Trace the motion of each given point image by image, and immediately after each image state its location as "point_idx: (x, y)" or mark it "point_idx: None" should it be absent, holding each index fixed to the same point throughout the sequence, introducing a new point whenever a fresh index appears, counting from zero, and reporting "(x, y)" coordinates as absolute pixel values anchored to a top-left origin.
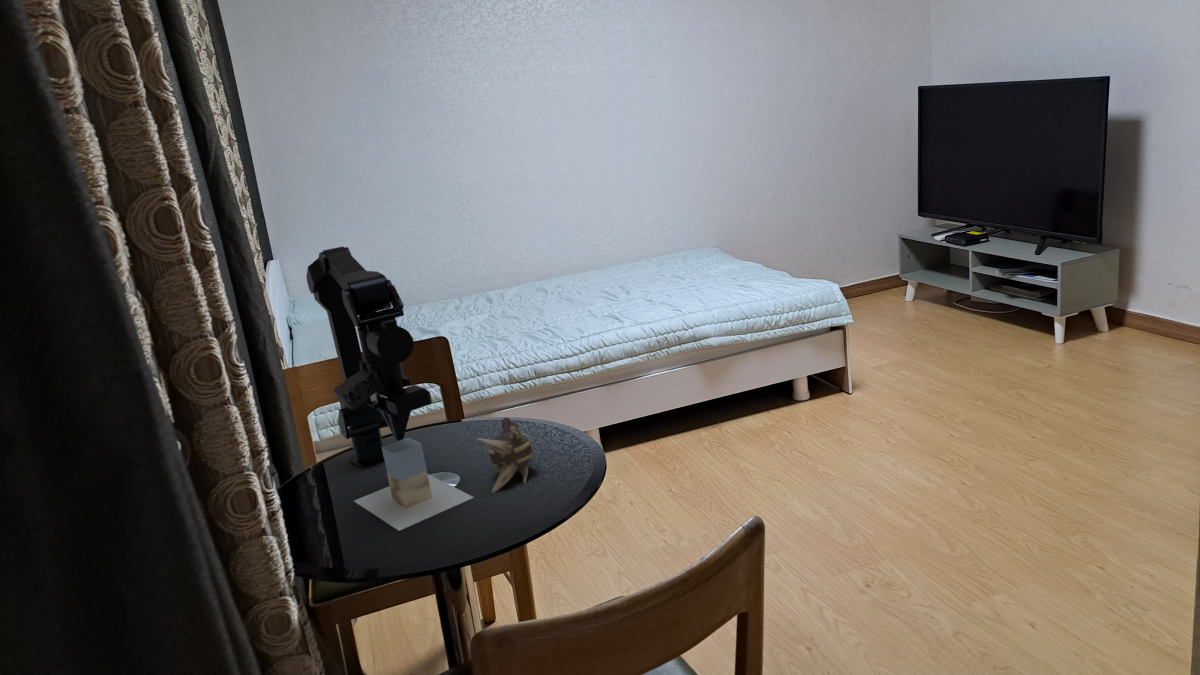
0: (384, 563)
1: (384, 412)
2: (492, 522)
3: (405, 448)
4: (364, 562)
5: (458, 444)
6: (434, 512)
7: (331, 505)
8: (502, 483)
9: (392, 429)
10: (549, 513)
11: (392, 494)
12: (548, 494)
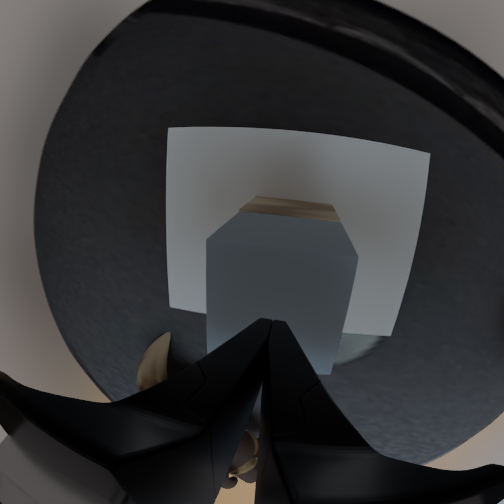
0: (102, 67)
1: (125, 424)
2: (80, 259)
3: (218, 301)
4: (134, 41)
5: (414, 420)
6: (176, 222)
7: (462, 122)
8: (145, 352)
9: (254, 348)
10: (60, 313)
11: (327, 206)
12: (103, 355)
